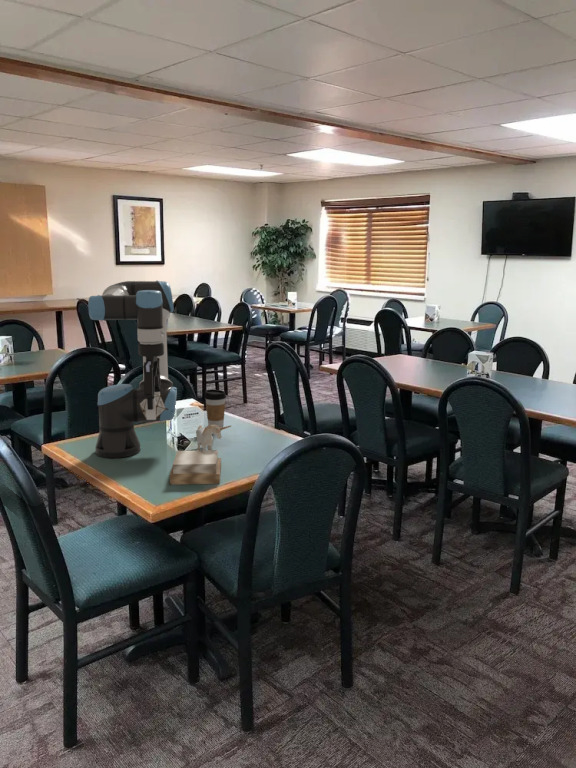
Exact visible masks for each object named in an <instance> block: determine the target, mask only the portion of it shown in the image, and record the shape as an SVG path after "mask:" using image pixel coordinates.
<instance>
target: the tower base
mask: <svg viewBox="0 0 576 768" xmlns="http://www.w3.org/2000/svg"><path fill="white" fill-rule="evenodd" d="M218 452H219V450H218V449H215V450H214V449H212V450H208V449H207V450H206V449H205V450H203V449H202V450H200V451H198V450H177V451H176V454H175V457H174V460H173V463H172V466H171V469H170V473H169V485H170V484H173V485H172V486H174V484H175V485H212V484H213V485H215V484H216V485H217V484H218V485H219V484H220V482H221V474H222V457H219V453H218Z"/></svg>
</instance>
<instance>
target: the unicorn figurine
mask: <svg viewBox="0 0 576 768" xmlns="http://www.w3.org/2000/svg"><path fill="white" fill-rule="evenodd" d="M218 426H219V425H208V424H207V426H205V427H202V425H199V426H198V427H197V429H196V431H195V435H196V439H197V450H196V451H201V448H202V450H206V448H207V450H213V445H214V438H213V436H212V434H213V435H214V436H216V437H217V439H219V440H221V439H222V437H223V436H222V433H221V431H223V430H225V429H228V428H231V427H232V425H227V426H223V428H219V427H218Z"/></svg>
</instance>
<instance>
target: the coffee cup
mask: <svg viewBox="0 0 576 768" xmlns="http://www.w3.org/2000/svg"><path fill="white" fill-rule="evenodd" d="M226 398H227V395H226V391H225V390H221V389H213V388H210V389H206V390H205V393H204V399H205V408H206V409H205V410H206V416H207V417H206V418H207V426H208V425H219V426H218V427H219V428H223V427H224V425H225V424H224V421H225V410H226Z"/></svg>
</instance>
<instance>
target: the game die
mask: <svg viewBox="0 0 576 768" xmlns="http://www.w3.org/2000/svg"><path fill="white" fill-rule="evenodd" d="M154 396H155V397H154V398H155V405H156V418H157V417H160V414H161V413H162V412H164V411H165V410H169V409H168V408H166V407H165V405H164V402H163V400H162V398H161V396H162V394H161V395H160V396H158V395H154ZM137 404H138V405H140V407H141V410H142V413H143V414H144V417H143V419H145V417H146V399H144V400H143V401H142V402H141V403H137ZM156 420H157V419H156Z"/></svg>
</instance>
